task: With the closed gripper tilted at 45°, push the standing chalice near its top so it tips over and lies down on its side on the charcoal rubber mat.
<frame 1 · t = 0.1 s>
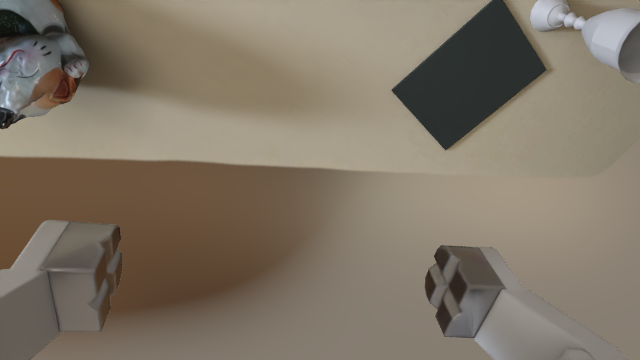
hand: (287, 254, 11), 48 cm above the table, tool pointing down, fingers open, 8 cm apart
mat: (468, 79, 61), on the table
chalice: (547, 11, 57), on the table
lucky cat figurine: (29, 34, 51), on the table
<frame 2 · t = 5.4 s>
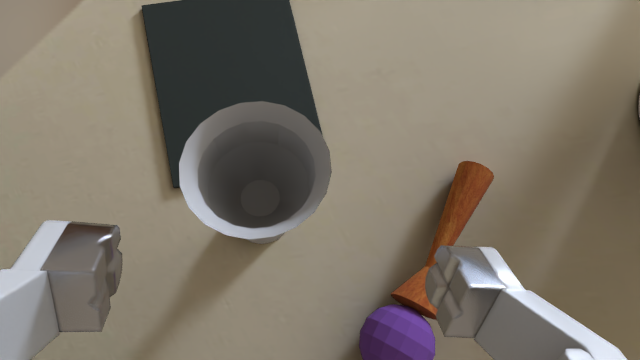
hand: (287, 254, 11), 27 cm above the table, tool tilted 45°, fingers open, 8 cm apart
mat: (233, 81, 40), on the table
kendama: (421, 266, 39), on the table
chalice: (262, 215, 38), on the table
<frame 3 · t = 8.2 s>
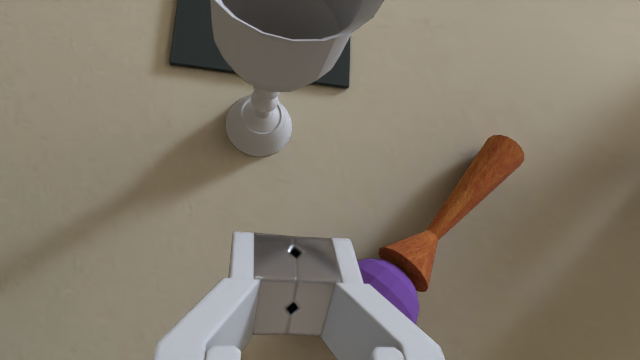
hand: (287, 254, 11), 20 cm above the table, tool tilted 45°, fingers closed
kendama: (418, 236, 34), on the table
chalice: (259, 126, 33), on the table
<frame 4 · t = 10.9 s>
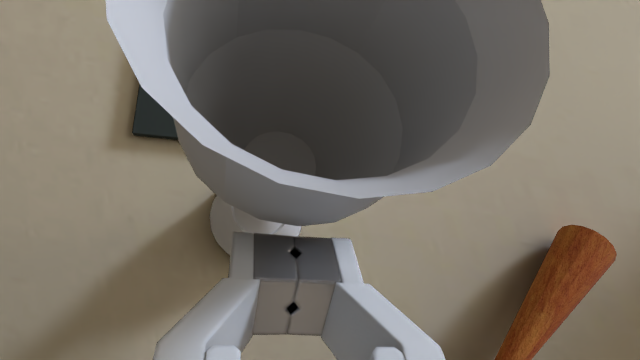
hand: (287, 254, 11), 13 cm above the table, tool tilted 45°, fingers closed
mat: (272, 12, 27), on the table
chalice: (256, 217, 24), on the table, touching gripper
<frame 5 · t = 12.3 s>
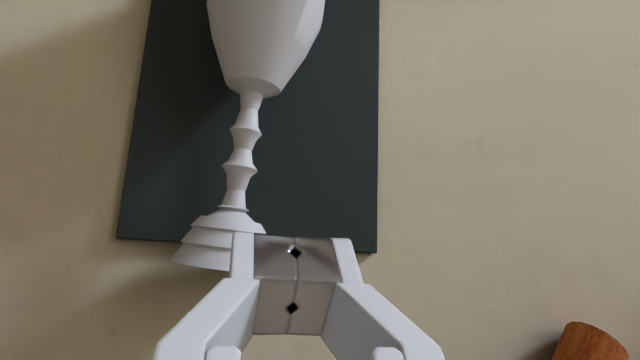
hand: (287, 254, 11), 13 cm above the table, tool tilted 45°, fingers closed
mat: (265, 94, 25), on the table
chalice: (222, 271, 20), point 3 cm above the table, touching mat
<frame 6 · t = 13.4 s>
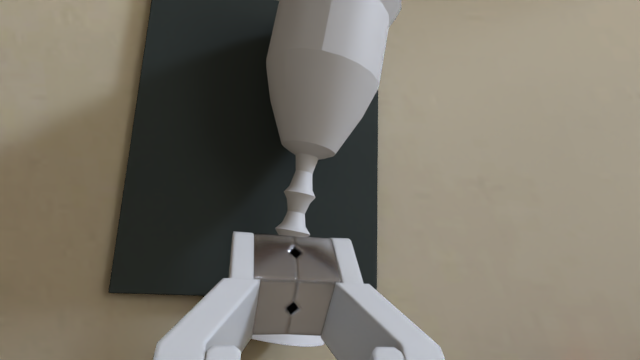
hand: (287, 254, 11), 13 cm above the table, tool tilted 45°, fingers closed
mat: (262, 137, 25), on the table
chalice: (272, 336, 20), point 2 cm above the table, touching mat
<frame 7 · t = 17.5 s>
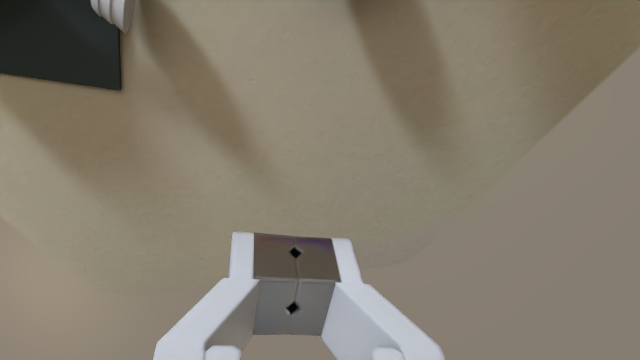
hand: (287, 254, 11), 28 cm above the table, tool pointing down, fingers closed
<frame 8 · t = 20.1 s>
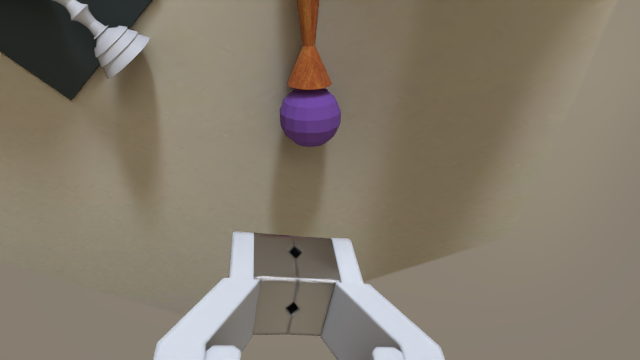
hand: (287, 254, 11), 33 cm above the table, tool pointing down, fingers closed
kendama: (306, 34, 41), on the table
chalice: (130, 59, 37), point 2 cm above the table, touching mat
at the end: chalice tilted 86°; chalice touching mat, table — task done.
